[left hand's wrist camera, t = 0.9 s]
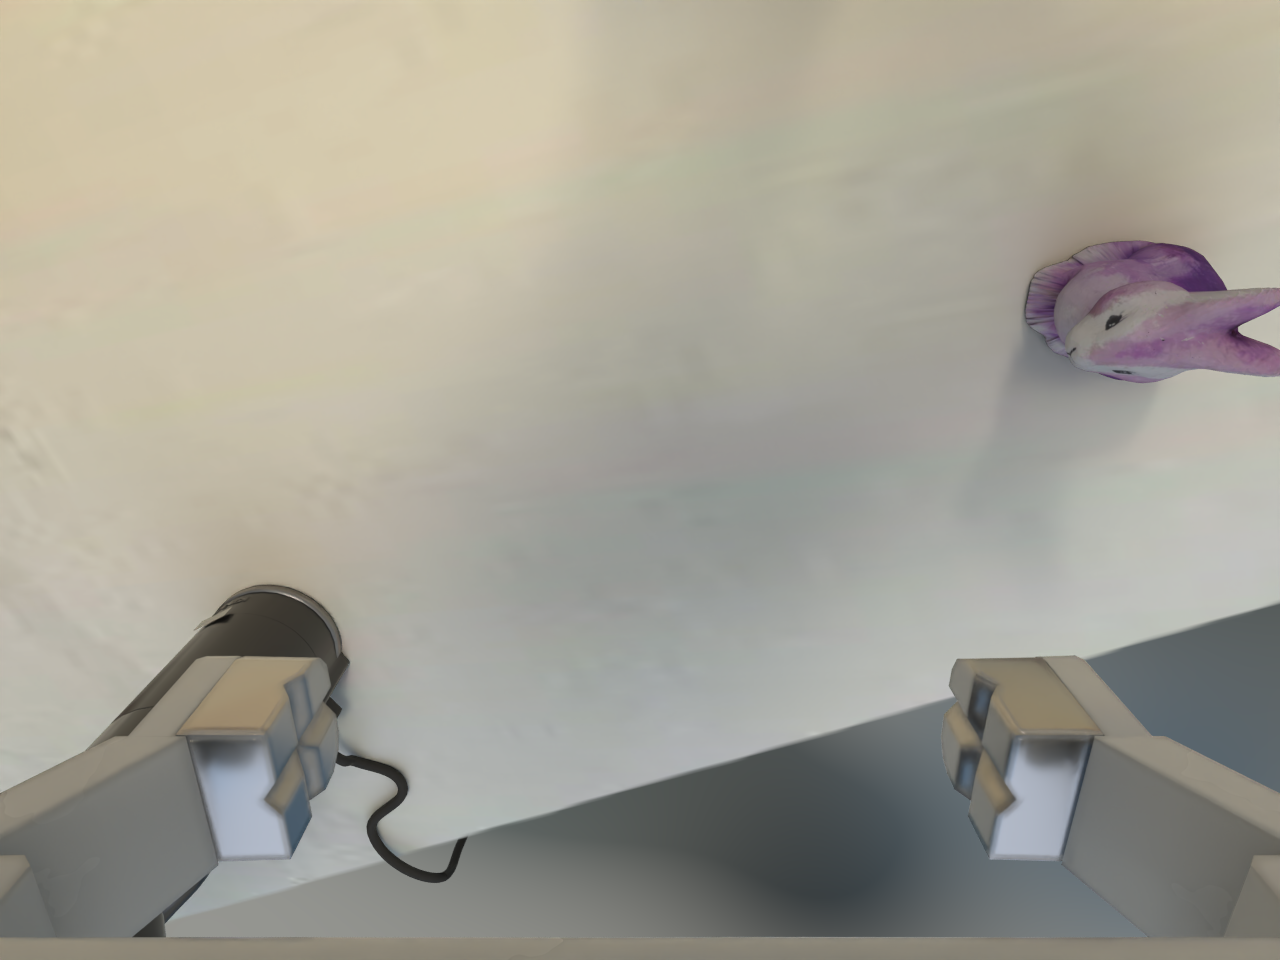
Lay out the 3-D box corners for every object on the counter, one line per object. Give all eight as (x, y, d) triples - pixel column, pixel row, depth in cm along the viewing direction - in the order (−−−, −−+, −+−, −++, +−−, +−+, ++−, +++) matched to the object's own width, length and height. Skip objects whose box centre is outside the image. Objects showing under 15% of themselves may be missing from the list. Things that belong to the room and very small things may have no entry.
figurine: (983, 308, 52) (1111, 360, 38) (1124, 192, 49) (1317, 202, 35) (1064, 412, 54) (1211, 498, 40) (1202, 307, 52) (1410, 360, 38)
